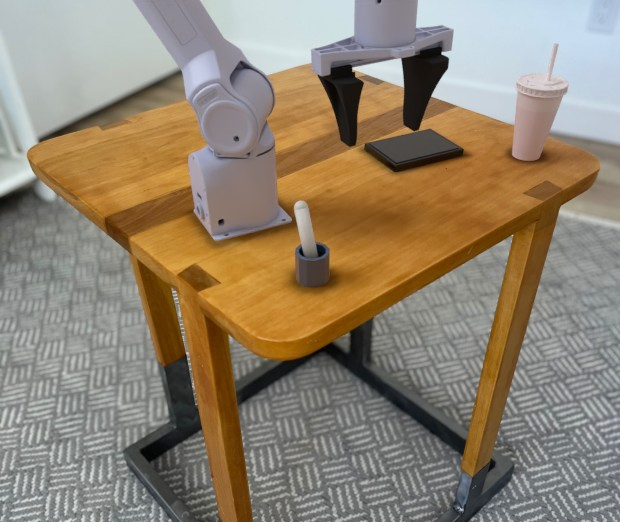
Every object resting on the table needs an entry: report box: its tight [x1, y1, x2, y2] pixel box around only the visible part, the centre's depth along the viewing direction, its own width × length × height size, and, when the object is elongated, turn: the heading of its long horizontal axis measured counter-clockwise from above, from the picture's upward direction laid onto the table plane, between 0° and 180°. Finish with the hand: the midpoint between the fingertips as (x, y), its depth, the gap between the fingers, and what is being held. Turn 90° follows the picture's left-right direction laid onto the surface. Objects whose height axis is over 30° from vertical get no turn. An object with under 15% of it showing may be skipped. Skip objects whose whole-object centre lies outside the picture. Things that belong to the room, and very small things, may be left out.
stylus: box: [293, 200, 318, 258], centre depth 61 cm, size 1×1×8 cm
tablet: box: [363, 128, 465, 173], centre depth 85 cm, size 11×8×1 cm
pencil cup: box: [294, 241, 331, 288], centre depth 62 cm, size 3×3×4 cm
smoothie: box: [511, 42, 570, 162], centre depth 79 cm, size 6×6×14 cm
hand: (380, 135), depth 64 cm, fingers open, 7 cm apart
